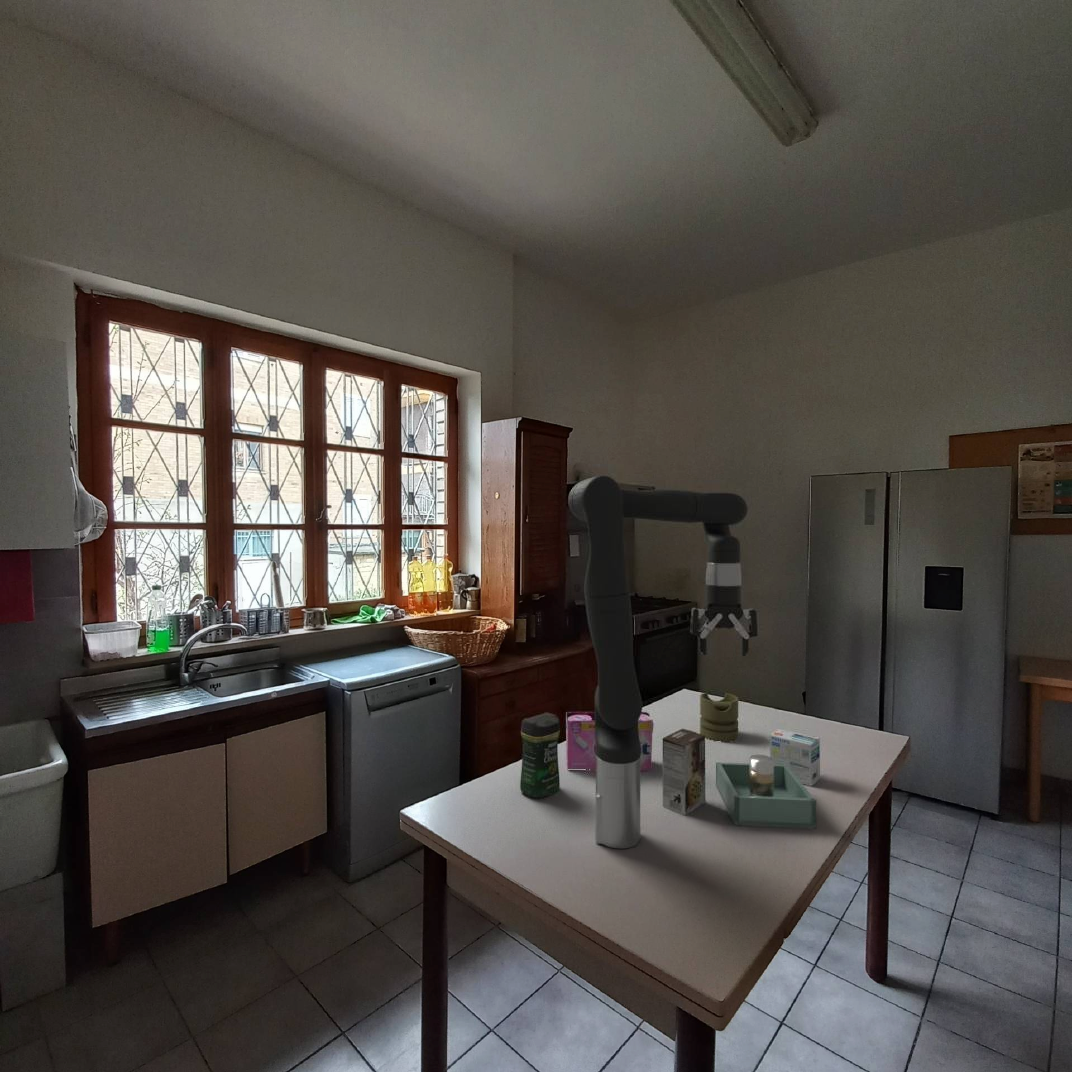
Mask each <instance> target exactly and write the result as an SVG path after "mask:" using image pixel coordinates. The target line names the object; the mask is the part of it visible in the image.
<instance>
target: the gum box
mask: <svg viewBox="0 0 1072 1072" xmlns="http://www.w3.org/2000/svg"><path fill="white" fill-rule="evenodd" d="M565 714H566V715H565V722H566V723H565V728H566V729H565V733H566V734H565V735H566V736H565V739H566V740H565V741H566V744H565V747H566V748H565V750H566V752H565V755H566V756H565V757H566V758H565V759H566V760H567V762H566V767H567V768H566V769H586V770H589V769H590V770H596V742H595V711H566V712H565ZM654 725H655V724H654V720H653V718H652V717H651V716H650V713H649V712H647V711H642V712H641V715H640V718H639V719H638V730H639V739H640V772H641V771H643V770H644V771H645V770H646V771H645V772H650V771H652V760H653V759H652V757H653V756H652V752H653V750H652V749H653V733H654ZM644 771H643V772H644Z"/></svg>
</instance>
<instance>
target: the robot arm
mask: <svg viewBox="0 0 1072 1072" xmlns="http://www.w3.org/2000/svg"><path fill="white" fill-rule="evenodd" d="M567 504H568V507H569V510H570V512H571V513H572V514H573V516H574V517H576V518H577V519H578V520H580V521H582V522H586V524H587V530H588V537H589V555H588V562H587V565H586V566H587V567H586V572H585V577H584V586H583V587H584V589H583V591H584V592H583V593H584V602H585V609H586V617H587V618H586V619H587V624H588V629H589V632H590V639H591V641H592V646H593V648H594V653H595V656H596V663H597V675H598V676H597V677H598V678H597V682H598V683H597V684H598V685H597V687H596V689H595V692H594V712H595V742H596V771H595V843H596V844H602V845H603V846H606V847H608V848H612V849H613V848H614V849H629V848H632V847H635V846H636V845H638V844H640V840H641V830H642V829H641V828H642V827H641V771H640V739H639V730H638V719H639V718H640V715H641V712H643V701H642V696H641V692H640V688H639V683H638V678H637V674H636V667H635V661H634V660H635V659H634V635H633V633H634V632H633V616H632V615H633V614H632V613H633V612H632V603H631V593H630V586H629V578H628V567H627V559H626V550H625V539H624V537H625V536H624V535H625V534H624V532H625V530H624V526H625V525H624V519H639V520H649V521H650V520H652V521H660V522H669V523H670V522H672V523H684V524H686V523H687V524H689V523H690V524H694V523H701V524H702V528H703V533H704V536H705V540H706V544H707V548H706V550H707V551H706V553H707V555H706V556H707V557H706V558H707V560H706V561H707V562H706V564H707V565H706V570H705V602H706V603H705V607H704V608H696V607H692V608H691V613H690V625H689V626H690V627H689V633H691V634H692V636H696V637H697V638H698V650H699V652H700V653H701V654H702V656H707V638H706V637H707V636H708V634H709V633H711V631H713V629H714V628H716V629H724V628H725V629H729V630H731V629H735V630H736V631H737V632H738V634H739V635H740V636H741V637H740V638H739V654H740V656H742V657H745V656H747V655H746V654H748V653H749V640H750V639H751V638H753V637H758V617H757V610H755V609H753V608H752V607H750V608H748V609H743V608H742V570H741V569H742V568H741V544H740V543H741V542H740V540H739V538H737V537H735V536H734V535H732V534H731V530H730V526H734V525H737V524H739V523H741V522H742V521H744V519H745V518H746V516H747V514H748V504H747V502H746V500H745V499H744V498H743V497H742V496H741V495H739V494H737V493H732V492H700V491H694V490H686V489H668V488H667V489H627V488H626V489H625V488H621V487H620V484H619V483H618V482H617V481H616V480H615V479H614V478H612V477H610V476H608V475H597V476H593V477H590V478H586V479H583V480H581V481H579V482H578V483H576V484H575V485H574V486H573V487H572V489H571V490H570V491H569V494H568V499H567ZM703 615H704V617H706V619H707V620H706V621H705V623H704V624H703V626H702V627H701V629H700V630H699V628H698V627H699V619H702V616H703ZM743 616H744V617H745V618H746V619H747V620H748V622H747V623H748V630H747V631H746V630H745V628H744V627H743V625H742V624H741V623H740V622H739V621H740V620H741V618H742V617H743Z"/></svg>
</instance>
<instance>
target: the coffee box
mask: <svg viewBox="0 0 1072 1072" xmlns="http://www.w3.org/2000/svg"><path fill="white" fill-rule="evenodd" d="M706 801H707V800H706V739H705V735H702V734H700V733H698V732H695V731H693V730H691V729H690V730H689V729H686V728H681V729H678V730H677V731H675V732H673V733H671V734H668V735H666V736H664V737H663V738H662V807H664V808H666V809H668V810H672V811H674V812H676V813H678V814H681V815H683V816H687V815H689V814H690V813H691V812H693V811H694V810H695V809H697V808H699V807H700V806H702V805H703V804H704V803H706Z"/></svg>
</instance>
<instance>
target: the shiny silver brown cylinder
mask: <svg viewBox="0 0 1072 1072" xmlns="http://www.w3.org/2000/svg"><path fill="white" fill-rule="evenodd" d="M749 764H750V768H749V790H750V796H763V797H774V760H773V759H772V758H771V757H770V756H768V755H764V754H751V755H750V756H749Z"/></svg>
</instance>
